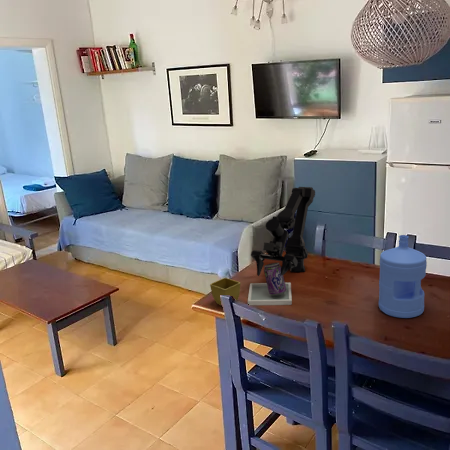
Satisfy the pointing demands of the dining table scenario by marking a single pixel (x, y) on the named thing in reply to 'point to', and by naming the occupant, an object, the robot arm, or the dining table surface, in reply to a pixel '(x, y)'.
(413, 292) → the water jug
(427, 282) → the dining table surface
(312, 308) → the dining table surface
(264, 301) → the tray
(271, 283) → the beverage can
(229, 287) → the flower pot
